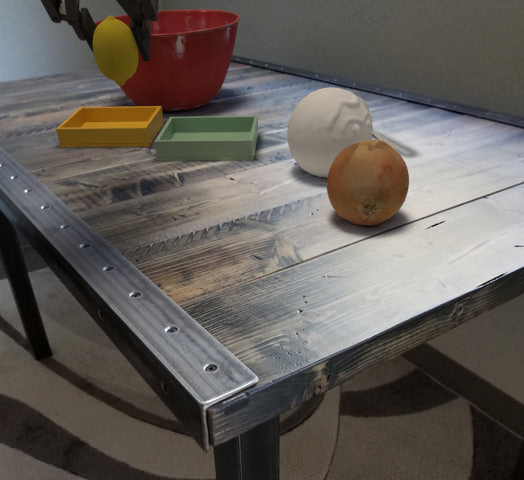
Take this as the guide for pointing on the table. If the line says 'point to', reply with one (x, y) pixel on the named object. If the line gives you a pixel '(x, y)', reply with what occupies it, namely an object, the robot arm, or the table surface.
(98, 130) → the yellow tray
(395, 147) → the fork
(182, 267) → the table surface
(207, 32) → the mixing bowl
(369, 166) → the onion
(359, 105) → the decorative ball
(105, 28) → the lemon
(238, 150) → the green tray
